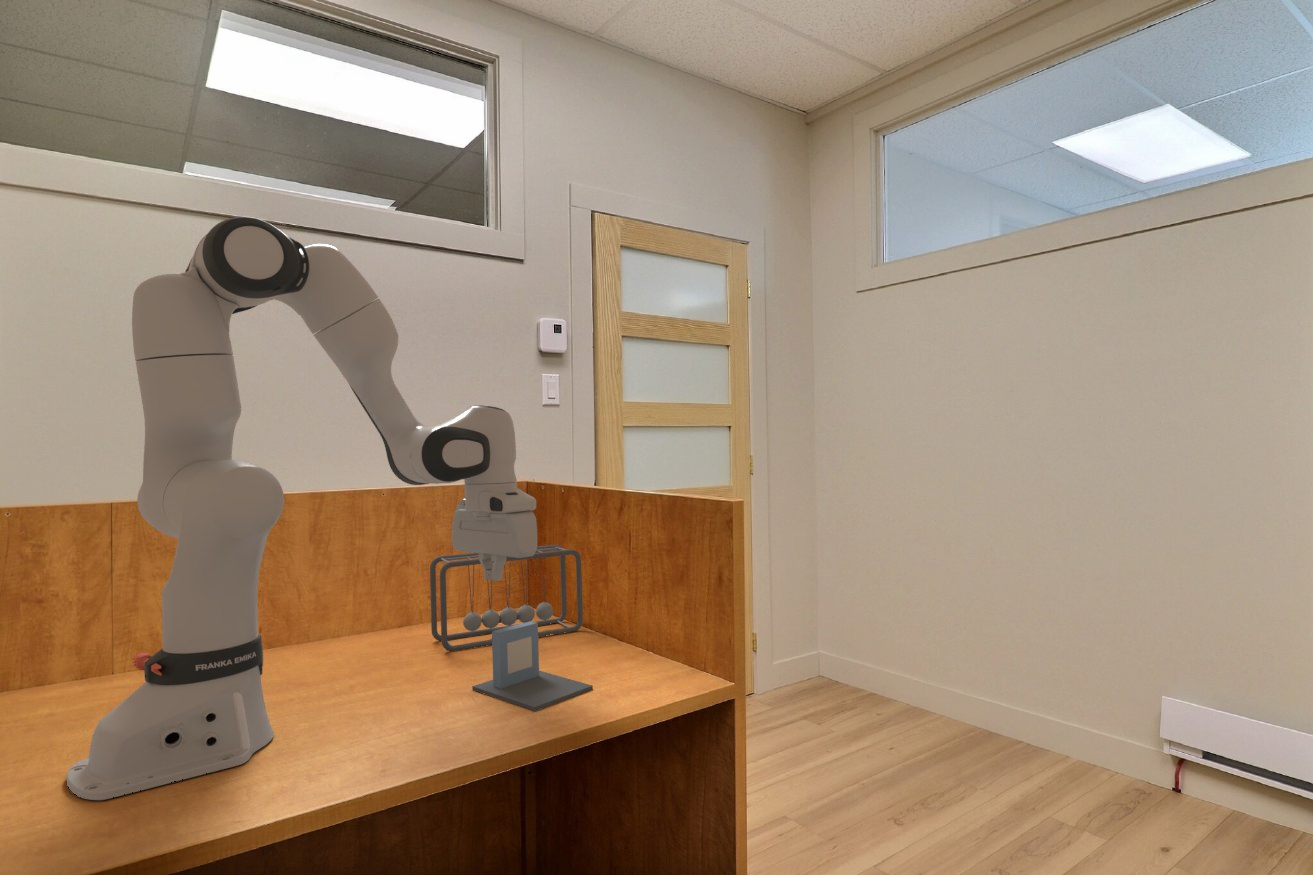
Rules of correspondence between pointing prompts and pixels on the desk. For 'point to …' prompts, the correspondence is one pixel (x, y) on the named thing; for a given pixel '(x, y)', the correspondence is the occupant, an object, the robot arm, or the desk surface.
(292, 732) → the desk surface
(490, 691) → the mat
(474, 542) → the robot arm
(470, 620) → the newton's cradle
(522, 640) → the tile
